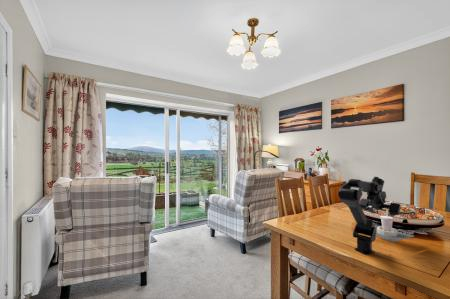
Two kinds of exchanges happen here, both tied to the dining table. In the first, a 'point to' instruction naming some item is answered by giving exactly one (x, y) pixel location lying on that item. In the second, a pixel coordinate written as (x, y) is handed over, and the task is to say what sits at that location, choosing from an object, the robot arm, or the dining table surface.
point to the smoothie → (386, 222)
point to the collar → (386, 233)
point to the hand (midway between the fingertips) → (382, 214)
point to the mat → (393, 239)
